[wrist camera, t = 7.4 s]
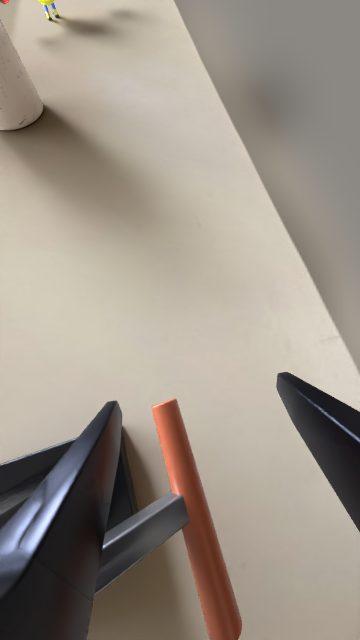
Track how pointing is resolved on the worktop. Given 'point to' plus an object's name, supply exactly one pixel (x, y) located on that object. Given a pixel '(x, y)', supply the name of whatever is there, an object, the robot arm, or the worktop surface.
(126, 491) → the bracket
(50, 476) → the robot arm
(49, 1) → the toy figure
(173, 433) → the lever
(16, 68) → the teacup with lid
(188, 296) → the worktop surface
